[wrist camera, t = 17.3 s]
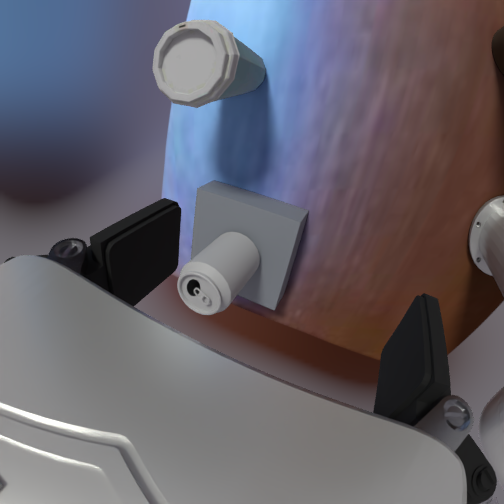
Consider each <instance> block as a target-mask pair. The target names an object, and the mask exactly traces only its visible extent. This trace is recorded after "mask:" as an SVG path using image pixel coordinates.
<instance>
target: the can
mask: <svg viewBox="0 0 504 504" xmlns="http://www.w3.org/2000/svg"><path fill="white" fill-rule="evenodd" d="M259 261H260V256H259V253H258V249H257V248H256V246H255V245H254V243H253V242H252V241H251V240H250V239H249V238H248V237H247V236H245V235H243V234H241V233H237V232H226V233H224V234H222V235H220V236H219V237H218V238H217V239H215V240H214V241H213V242H212V243H211V244H209V245H208V246H207V247H206V248H205V249H203V250H202V251H201V252H200V253H199V254H197V255H196V256H195V257H194V258H193V259H192V260H190V261H189V262H188V263H187V264H186V265H184V267H183V268H182V270H181V272H180V278H179V279H178V284H177V286H178V292H179V294H180V297H181V299H182V300H183V301H184V303H185V304H186V305H187V306H188V307H190V309H192V310H194V311H195V312H197V313H200V314H203V315H212V314H215V313H216V312H220V311H223V310H225V309H226V308H227V307H228V306H229V305H230V303H231V302H232V301H233V300H234V298H235V297H236V296H237V294H238V293H239V292H240V291H241V289H242V288H243V287H244V286H245V284H246V283H247V282H248V280H249V279H250V278H251V277H252V275H253V274H254V273H255V271H256V270H257V268H258V266H259Z"/></svg>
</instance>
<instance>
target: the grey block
mask: <svg viewBox="0 0 504 504" xmlns="http://www.w3.org/2000/svg"><path fill="white" fill-rule="evenodd" d="M308 212H309V211H308V210H305V209H302V208H299V207H296V206H294V205H291V204H288V203H285V202H282V201H279V200H276V199H272V198H269V197H266V196H263V195H260V194H257V193H254V192H251V191H247V190H244V189H241V188H238V187H234V186H231V185H228V184H225V183H221V182H218V181H212V182H209V183H207V184H205V185H203V186H201V187H199V188H197V197H196V206H195V217H194V228H193V239H192V252H191V260H192V259H193V258H194V257H195V256H196V255H197V254H199V253H200V252H201V251H202V250H203V249H205V248H206V247H207V246H208V245H209V244H211V243H212V242H213V241H214V240H215V239H217V238H218V237H219V236H220V235H222V234H224V233H226V232H237V233H241V234H243V235H245V236H247V237H248V238H249V239H250V240H251V241H252V242H253V243H254V245H255V246H256V248H257V249H258V253H259V256H260V261H259V266H258V268H257V270H256V271H255V273H254V274H253V275H252V277H251V278H250V279H249V280H248V282H247V283H246V284H245V286H244V287H243V288H242V289H241V291H240V292H239V293H238V294H237V295H238V296H241V297H243V298H246V299H248V300H250V301H253V302H255V303H258V304H260V305H262V306H265V307H267V308H270V309H272V310H275V309H276V307H277V305H278V303H279V302H280V300H281V298H282V296H283V295H284V292H285V289H286V286H287V282H288V279H289V276H290V273H291V269H292V266H293V263H294V260H295V256H296V253H297V250H298V246H299V243H300V239H301V236H302V233H303V229H304V226H305V222H306V219H307V215H308Z"/></svg>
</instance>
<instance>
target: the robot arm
mask: <svg viewBox="0 0 504 504" xmlns="http://www.w3.org/2000/svg"><path fill="white" fill-rule="evenodd" d="M503 200H504V195H502V196H497V197H495V198H493V199H491V200H489V201H488V202H486V203H485V204H484V205H483V206H482V207H481V208H480V209H479V211H478V212H477V214H476V215H475V217H474V219H473V221H472V224H471V227H470V231H469V249H470V253H471V256H472V259H473V260H474V262H475V264H476V265H477V267H478V268H479V269H480V270H481V271H483V272H484V273H486V274H488V275H491V276H493V277H494V279H495V281H496V283H497V285H498V287H499V289H500V291H501V293H502V295H503V297H504V202H503ZM180 222H181V208H180V207H179V205H178V203H177V202H175V201H172V200H169V199H166V198H163V199H161V200H159V201H157V202H155V203H153V204H151V205H149V206H147V207H145V208H143V209H141V210H139V211H138V212H135V213H134V214H131V215H130V216H128V217H126V218H124V219H122V220H120V221H118V222H117V223H115V224H113V225H111V226H109V227H107V228H105V229H104V230H102V231H100V232H98V233H96V234H95V235H93V236H91V237H90V243H91V245H90V246H88V247H87V244H86V243H85V241H83V240H81V239H78V238H68V239H64V240H61V241H59V242H57V243H56V244H55V245H53V247H52V248H51V250H50V252H49V255H39V256H32V255H24V256H23V255H22V256H18V257H11V258H9V259H7V260H6V262H4V263H3V264H1V265H0V504H498V500H497V497H495V498H492V495H493V493H494V491H495V488H496V482H497V480H498V481H499V483H500V485H501V487H502V489H503V491H504V387H503V388H502V389H501V390H500V391H499V392H497V393H496V394H495V395H494V396H493V397H492V399H491V400H490V401H489V402H488V403H487V404H486V406H485V407H484V409H483V411H482V413H481V416H480V419H479V426H478V430H479V439H480V444H481V447H482V450H483V452H484V454H483V453H482V452H481V450H480V449H479V447H478V446H477V445H476V443H475V442H474V440H473V439H472V438H471V436H470V435H469V432H470V431H471V429H472V427H473V423H474V417H473V412H472V410H471V408H470V406H469V405H468V403H467V402H466V401H465V400H463V399H462V398H460V397H458V396H455V395H451V390H450V376H449V366H448V357H447V350H446V342H445V336H444V330H443V324H442V318H441V313H440V307H439V303H438V299H437V298H435V297H432V296H430V295H427V294H425V293H424V294H422V295H421V296H419V295H418V296H416V297H415V299H414V301H413V302H412V304H411V306H410V307H409V309H408V311H407V312H406V314H405V316H404V317H403V319H402V320H401V322H400V324H399V325H398V327H397V328H396V330H395V331H394V333H393V334H392V336H391V337H390V339H389V340H388V342H387V343H386V345H385V347H384V348H383V351H382V354H381V361H380V370H379V378H378V386H377V393H376V399H375V405H374V412H373V413H372V412H369V411H366V410H363V409H360V408H357V407H354V406H351V405H348V404H346V403H343V402H340V401H337V400H334V399H332V398H329V397H326V396H323V395H320V394H318V393H315V392H312V391H310V390H307V389H305V388H302V387H300V386H297V385H294V384H292V383H289V382H287V381H284V380H282V379H279V378H277V377H275V376H272V375H270V374H268V373H265V372H263V371H261V370H258V369H256V368H254V367H252V366H249V365H247V364H245V363H243V362H240V361H238V360H236V359H234V358H232V357H229V356H227V355H225V354H223V353H221V352H219V351H216V350H215V349H213V348H210V347H209V346H206V345H204V344H202V343H200V342H198V341H196V340H194V339H192V338H190V337H188V336H187V335H185V334H183V333H181V332H179V331H177V330H175V329H173V328H171V327H169V326H168V325H166V324H164V323H162V322H160V321H158V320H156V319H155V318H153V317H151V316H149V315H147V314H146V313H144V312H142V311H140V310H138V309H137V308H135V307H134V306H135V305H136V304H137V303H138V302H139V301H141V299H143V298H144V297H145V296H146V295H148V294H149V293H150V292H151V291H152V290H153V289H154V288H156V287H157V286H158V285H159V284H160V283H162V282H163V281H164V280H165V279H166V278H167V277H169V276H170V275H171V274H172V273H173V272H174V271H175V270H176V269H177V266H178V257H179V238H180ZM477 222H478V224H476V223H477ZM484 455H485V456H484ZM496 479H497V480H496Z"/></svg>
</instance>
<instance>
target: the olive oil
mask: <svg viewBox="0 0 504 504" xmlns="http://www.w3.org/2000/svg"><path fill="white" fill-rule="evenodd" d="M492 52H493V56H494V59H495V62H496V64H497V66H498V68H499V69H500V71H501V72H502V74H503V75H504V26H503V27H502V28H501V29H499V30H498V31H497V32H496V33H495V35H494V37H493V40H492Z"/></svg>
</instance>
